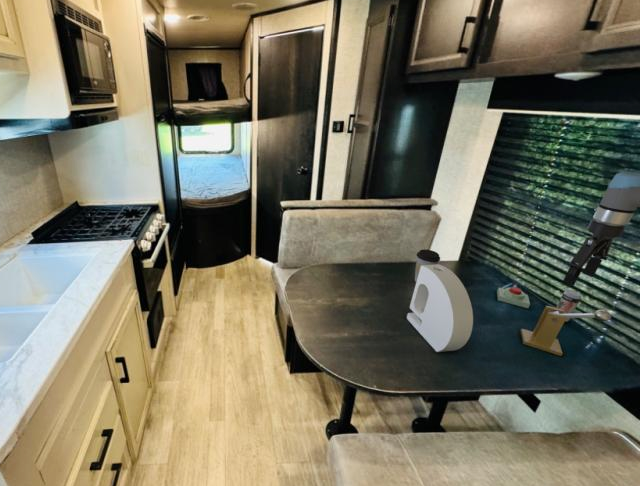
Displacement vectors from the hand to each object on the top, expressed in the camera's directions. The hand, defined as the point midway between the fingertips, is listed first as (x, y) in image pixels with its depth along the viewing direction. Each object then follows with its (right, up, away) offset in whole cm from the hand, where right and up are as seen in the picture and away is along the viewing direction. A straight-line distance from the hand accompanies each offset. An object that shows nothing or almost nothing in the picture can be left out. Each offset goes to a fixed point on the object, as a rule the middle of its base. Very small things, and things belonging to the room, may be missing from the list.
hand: (578, 279), depth 107 cm
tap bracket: (-10, -23, +3) cm, 25 cm away
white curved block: (-46, -22, +7) cm, 52 cm away
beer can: (+10, -18, +16) cm, 26 cm away
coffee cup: (-31, -7, +40) cm, 51 cm away
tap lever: (-5, -13, -5) cm, 15 cm away
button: (+1, -9, +25) cm, 27 cm away
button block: (+1, -13, +27) cm, 30 cm away
